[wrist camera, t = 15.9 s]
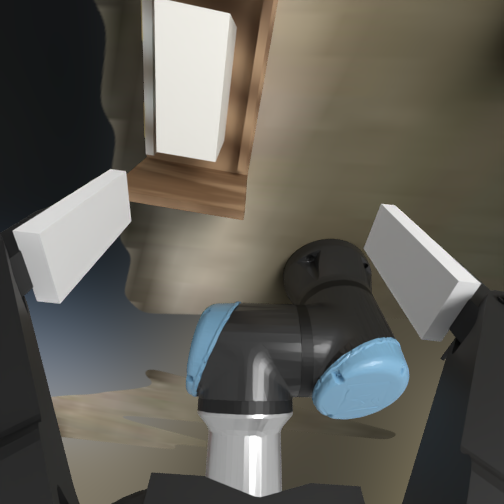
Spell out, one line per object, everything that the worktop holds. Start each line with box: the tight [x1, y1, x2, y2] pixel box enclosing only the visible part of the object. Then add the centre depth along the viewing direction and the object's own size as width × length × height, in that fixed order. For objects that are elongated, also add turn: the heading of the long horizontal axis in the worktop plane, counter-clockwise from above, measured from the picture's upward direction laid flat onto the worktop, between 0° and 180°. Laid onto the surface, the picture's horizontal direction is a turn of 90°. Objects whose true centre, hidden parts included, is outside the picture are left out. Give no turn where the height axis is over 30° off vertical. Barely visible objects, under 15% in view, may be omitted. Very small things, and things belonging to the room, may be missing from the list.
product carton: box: [154, 0, 237, 162], centre depth 30 cm, size 12×6×10 cm, turn 170°
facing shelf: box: [126, 0, 278, 220], centre depth 30 cm, size 22×14×14 cm, turn 170°
